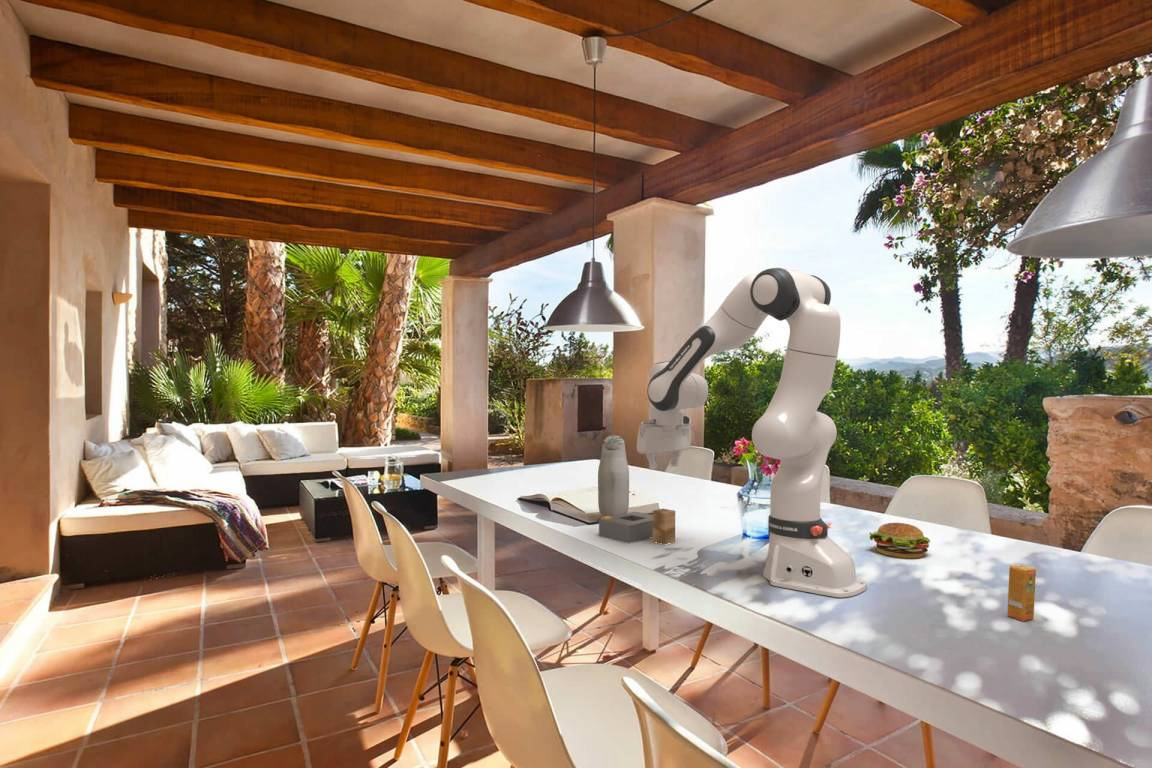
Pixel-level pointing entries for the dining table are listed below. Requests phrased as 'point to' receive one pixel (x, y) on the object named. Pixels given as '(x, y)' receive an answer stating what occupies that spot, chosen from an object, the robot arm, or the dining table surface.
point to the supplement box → (1021, 592)
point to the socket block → (627, 526)
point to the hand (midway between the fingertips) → (664, 467)
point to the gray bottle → (613, 478)
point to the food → (900, 540)
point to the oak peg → (664, 526)
